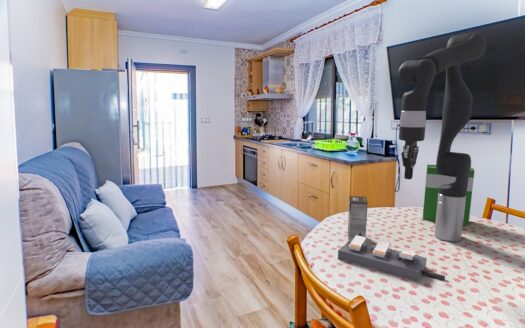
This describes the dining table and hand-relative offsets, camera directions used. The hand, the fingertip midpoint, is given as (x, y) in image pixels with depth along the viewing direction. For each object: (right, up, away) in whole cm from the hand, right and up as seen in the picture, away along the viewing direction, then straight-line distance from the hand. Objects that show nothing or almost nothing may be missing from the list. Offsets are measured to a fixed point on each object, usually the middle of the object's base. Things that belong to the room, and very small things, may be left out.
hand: (408, 178), depth 109 cm
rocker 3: (-2, -23, -5) cm, 24 cm away
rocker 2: (-9, -23, -1) cm, 24 cm away
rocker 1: (-15, -22, +4) cm, 27 cm away
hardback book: (+34, -21, +41) cm, 57 cm away
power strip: (-6, -28, -2) cm, 29 cm away
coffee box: (-12, -24, +19) cm, 33 cm away
